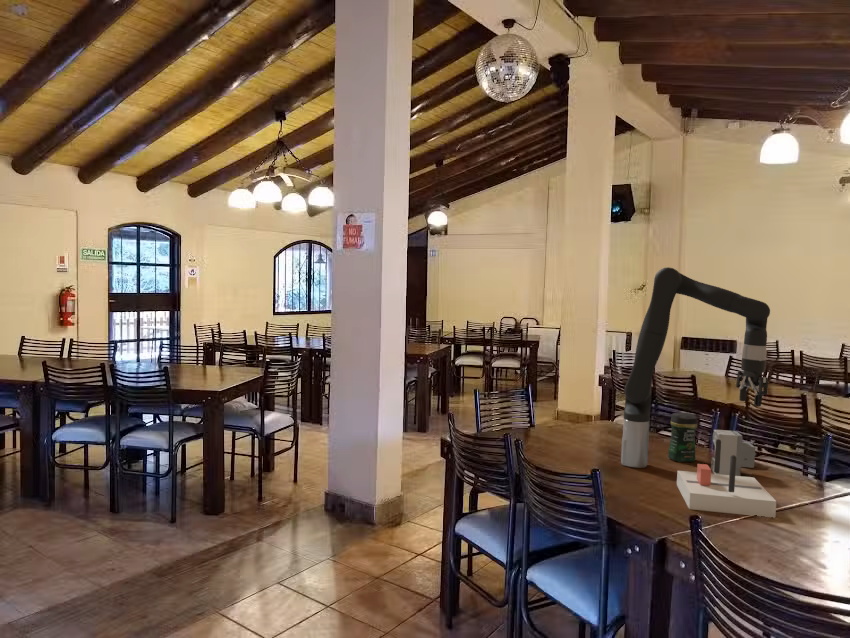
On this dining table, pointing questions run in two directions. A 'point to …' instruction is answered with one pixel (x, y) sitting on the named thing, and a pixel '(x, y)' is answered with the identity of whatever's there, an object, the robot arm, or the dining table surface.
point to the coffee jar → (682, 437)
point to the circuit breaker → (733, 451)
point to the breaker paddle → (703, 474)
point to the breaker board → (726, 495)
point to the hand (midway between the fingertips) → (750, 403)
